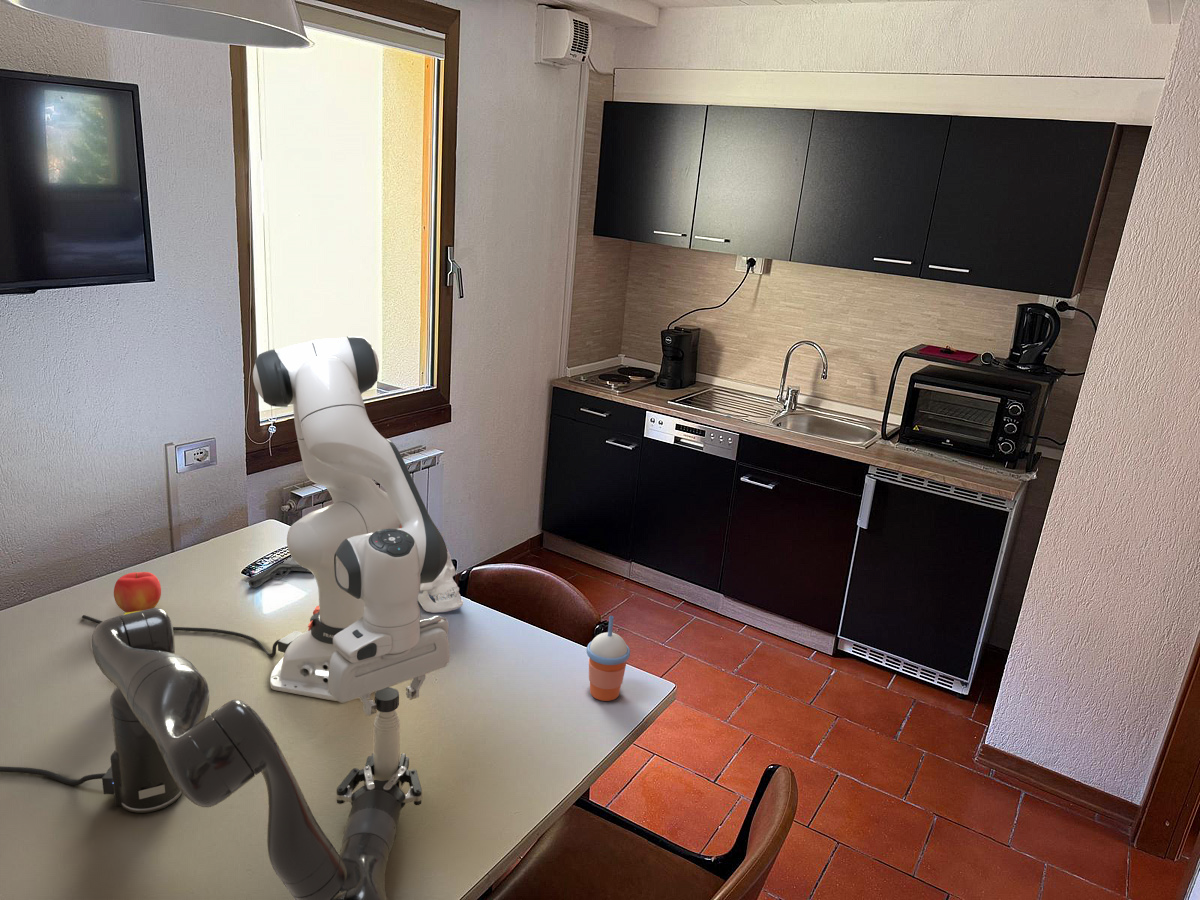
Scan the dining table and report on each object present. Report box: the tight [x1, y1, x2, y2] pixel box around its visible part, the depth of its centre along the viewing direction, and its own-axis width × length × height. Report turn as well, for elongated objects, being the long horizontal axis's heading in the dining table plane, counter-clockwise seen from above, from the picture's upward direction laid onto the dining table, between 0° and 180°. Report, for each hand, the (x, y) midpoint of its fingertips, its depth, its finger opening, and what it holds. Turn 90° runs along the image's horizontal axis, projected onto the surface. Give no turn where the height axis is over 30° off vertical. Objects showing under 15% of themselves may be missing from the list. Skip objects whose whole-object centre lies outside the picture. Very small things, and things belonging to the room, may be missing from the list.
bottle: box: [373, 710, 401, 781], centre depth 143 cm, size 4×4×20 cm
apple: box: [113, 571, 162, 613], centre depth 195 cm, size 10×10×10 cm
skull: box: [418, 551, 465, 614], centre depth 211 cm, size 13×22×16 cm, turn 67°
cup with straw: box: [586, 615, 631, 702], centre depth 178 cm, size 9×9×18 cm
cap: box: [374, 686, 400, 712], centre depth 140 cm, size 4×4×2 cm
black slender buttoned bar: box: [248, 557, 312, 588], centre depth 220 cm, size 2×18×12 cm
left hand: (389, 757), depth 146 cm, fingers closed on bottle, 4 cm apart
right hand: (391, 705), depth 140 cm, fingers open, 6 cm apart
